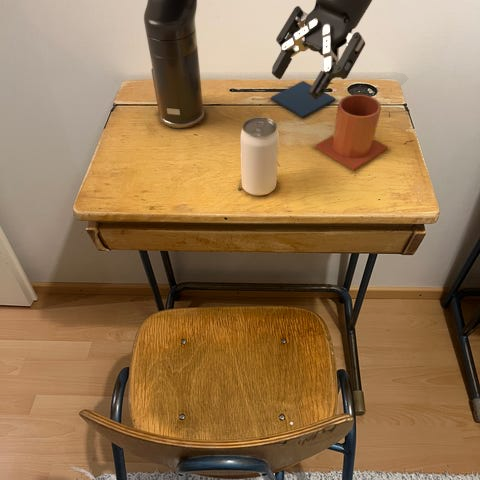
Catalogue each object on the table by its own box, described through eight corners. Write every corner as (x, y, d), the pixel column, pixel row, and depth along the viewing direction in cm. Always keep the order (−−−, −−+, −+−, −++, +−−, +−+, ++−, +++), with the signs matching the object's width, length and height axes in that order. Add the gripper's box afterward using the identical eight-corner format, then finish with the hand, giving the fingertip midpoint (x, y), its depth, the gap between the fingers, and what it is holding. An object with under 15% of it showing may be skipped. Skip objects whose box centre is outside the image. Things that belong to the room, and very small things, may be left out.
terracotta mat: (315, 147, 92) (315, 145, 92) (349, 128, 96) (349, 125, 95) (353, 171, 88) (354, 168, 87) (387, 149, 91) (388, 147, 91)
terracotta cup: (323, 148, 92) (330, 105, 85) (349, 132, 95) (357, 89, 88) (352, 165, 89) (361, 122, 81) (378, 149, 91) (389, 106, 84)
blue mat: (270, 99, 103) (270, 96, 102) (302, 83, 106) (303, 80, 106) (302, 118, 98) (303, 115, 98) (335, 100, 102) (335, 98, 101)
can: (239, 195, 85) (237, 136, 75) (244, 173, 88) (242, 114, 78) (274, 198, 84) (277, 139, 74) (277, 175, 88) (281, 116, 78)
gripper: (308, -44, 70) (252, 59, 76) (382, -18, 64) (315, 93, 69) (328, -14, 77) (274, 80, 82) (396, 13, 70) (334, 113, 76)
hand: (293, 86), depth 76 cm, fingers open, 8 cm apart
